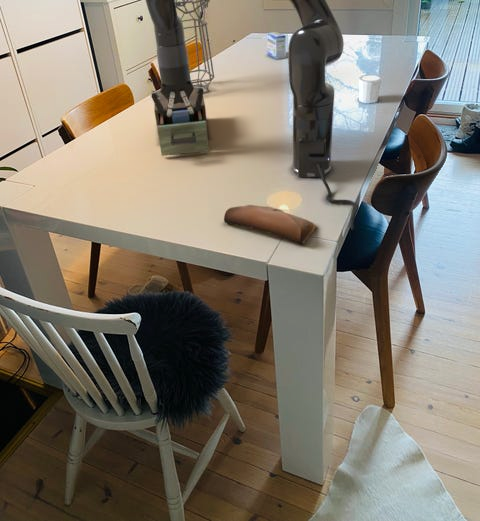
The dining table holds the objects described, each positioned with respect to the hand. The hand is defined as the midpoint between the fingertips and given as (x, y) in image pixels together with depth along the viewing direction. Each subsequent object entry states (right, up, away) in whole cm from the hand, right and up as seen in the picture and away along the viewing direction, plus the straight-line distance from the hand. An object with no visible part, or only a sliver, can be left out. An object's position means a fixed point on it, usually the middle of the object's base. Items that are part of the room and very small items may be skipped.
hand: (182, 127), depth 135 cm
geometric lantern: (0, +24, +42) cm, 49 cm away
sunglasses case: (+22, -29, -30) cm, 47 cm away
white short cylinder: (+56, +15, +25) cm, 63 cm away
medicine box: (+30, +47, +70) cm, 90 cm away
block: (0, 0, 0) cm, 1 cm away
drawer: (0, -4, +3) cm, 5 cm away
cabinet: (-1, +2, +13) cm, 14 cm away
